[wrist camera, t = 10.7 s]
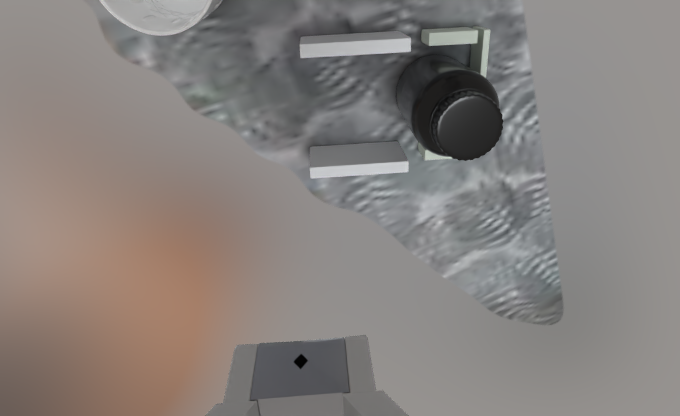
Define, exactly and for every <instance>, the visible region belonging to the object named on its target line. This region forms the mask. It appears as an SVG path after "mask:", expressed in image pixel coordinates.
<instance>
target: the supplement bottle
mask: <svg viewBox="0 0 680 416" xmlns="http://www.w3.org/2000/svg"><path fill="white" fill-rule="evenodd" d="M396 101H397V106H398V109H399V111H400V113H401V115H402V117H403V118H404V120H405V121H406V123H407V125H408V126H409V128H410V129H411V131H412V133H413V134H414V136H415V137H416V139H417V140H418V141H419V143H420V144H421V145H422V146H423V147H424V148H425V149H427V150H428V151H430V152H432V153H434V154H437V155H440V156H445V157H452V158H453V159H458V160H465V161H466V160H473V159H475V158H479V157H480V156H482V155H485V154H486V153H487V152H489V151H490V150H491V148H492V147H494V146H495V144H496V142H498V140H499V137H500V136H501V131H502V129H503V126H502V124H503V120H502V114H501V113H500V108H499V100H498V96H497V93H496V91H495V89H494V87H493V86H492V84H491V83H490V82H489V81H488V80H487V79H486V78H485V77H484V76H482V75H481V74H479V73H478V72H476V71H474V70H472V69H471V68H469V67H467V66H465V65H464V64H462V63H460V62H458V61H456V60H454V59H452V58H450V57H447V56H444V55H429V56H425V57H422V58H420V59H418V60H416V61H415V62H413V63H412V64H411V65H410V66H408V67H407V69H406V70H405V71H404V72H403V74H402V75H401V77H400V79H399V82H398V85H397V90H396Z"/></svg>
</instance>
